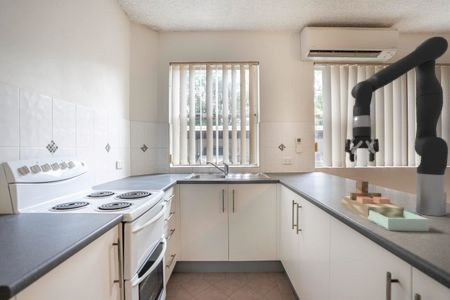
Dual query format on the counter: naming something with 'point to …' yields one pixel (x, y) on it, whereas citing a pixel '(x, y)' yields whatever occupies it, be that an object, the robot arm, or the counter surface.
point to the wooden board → (371, 208)
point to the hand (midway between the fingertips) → (361, 161)
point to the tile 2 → (381, 200)
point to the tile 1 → (365, 200)
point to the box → (400, 222)
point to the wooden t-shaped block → (362, 191)
